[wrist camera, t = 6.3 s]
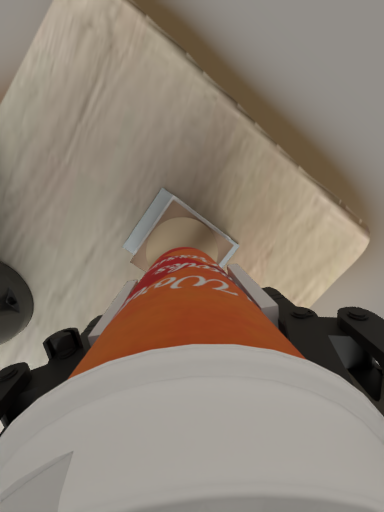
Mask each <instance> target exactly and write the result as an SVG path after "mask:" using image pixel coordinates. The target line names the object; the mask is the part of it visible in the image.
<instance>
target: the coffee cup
mask: <svg viewBox="0 0 384 512" xmlns="http://www.w3.org/2000/svg"><path fill="white" fill-rule="evenodd" d="M0 512H384V417H383V415H382V414H381V413H380V412H379V411H378V410H377V408H376V407H375V406H374V405H373V404H372V403H371V402H370V400H369V399H368V398H367V397H366V396H365V395H364V394H363V393H362V392H360V391H359V390H358V389H356V388H355V387H354V386H353V385H351V384H350V383H349V382H347V381H346V380H345V379H343V378H342V377H341V376H339V375H337V374H335V373H333V372H331V371H329V370H327V369H325V368H323V367H321V366H319V365H317V364H315V363H313V362H311V361H309V360H306V359H305V357H304V356H303V355H302V354H301V353H300V352H299V351H298V350H297V349H296V348H295V347H294V346H293V345H292V344H291V342H290V341H289V340H288V339H287V338H286V337H285V336H284V335H283V334H282V333H281V332H280V331H279V330H278V328H277V327H276V326H275V325H274V324H273V323H272V322H271V321H270V320H269V319H268V318H267V317H266V316H265V314H264V313H263V312H262V311H261V310H260V309H259V308H258V307H257V306H256V305H255V304H254V303H253V301H252V300H251V299H250V298H249V297H248V296H247V295H246V294H245V293H244V292H243V291H242V290H241V289H240V287H239V286H238V285H237V284H236V283H235V282H234V281H233V280H232V279H231V278H230V277H229V276H228V275H227V274H226V273H225V271H224V270H223V269H222V268H221V267H220V266H219V265H218V264H217V263H216V262H215V261H214V260H213V259H212V258H211V257H210V256H208V255H207V254H206V253H204V252H202V251H201V250H198V249H195V248H191V247H178V248H174V249H171V250H169V251H167V252H165V253H164V254H162V255H161V256H160V257H159V258H158V259H157V260H156V261H155V262H154V263H153V265H152V266H151V267H150V268H149V270H148V271H147V272H146V274H145V275H144V276H143V278H142V279H141V280H140V282H139V283H138V284H137V286H136V287H135V288H134V290H133V291H132V292H131V294H130V295H129V296H128V298H127V299H126V301H125V302H124V303H123V305H122V306H121V307H120V309H119V310H118V311H117V313H116V314H115V316H114V317H113V318H112V320H111V321H110V322H109V324H108V325H107V326H106V328H105V329H104V331H103V332H102V333H101V335H100V336H99V337H98V339H97V340H96V341H95V343H94V344H93V345H92V347H91V348H90V350H89V351H88V352H87V354H86V355H85V356H84V358H83V359H82V360H81V362H80V363H79V364H78V366H77V367H76V369H75V370H74V371H73V373H72V374H71V375H70V377H69V378H68V379H67V381H65V382H63V383H62V384H60V385H59V386H57V387H55V388H54V389H52V390H51V391H49V392H47V393H46V394H44V395H43V396H41V397H40V398H38V399H37V400H36V401H35V402H34V403H32V404H31V405H30V406H29V407H28V408H27V409H26V410H25V411H24V412H22V413H21V414H20V415H19V416H18V417H17V418H16V419H15V420H13V421H12V422H11V424H10V425H9V426H8V428H7V429H6V430H5V432H4V433H3V434H2V435H1V437H0Z"/></svg>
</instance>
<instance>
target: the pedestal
mask: <svg viewBox="0 0 384 512" xmlns="http://www.w3.org/2000/svg"><path fill="white" fill-rule="evenodd" d="M233 246H234V245H233V244H232V243H230V242H229V241H228V240H227V239H225V238H224V237H223V236H221V235H220V234H219V233H217V232H216V231H215V230H213V229H212V228H211V227H209V226H208V225H207V224H205V223H204V222H203V221H201V220H200V219H199V218H197V217H196V216H195V215H193V214H192V213H191V212H189V211H188V210H187V209H185V208H184V207H183V206H181V205H180V204H179V203H177V202H176V201H175V200H173V201H172V202H171V203H170V205H169V206H168V208H167V209H166V211H165V212H164V214H163V215H162V216H161V218H160V219H159V221H158V222H157V224H156V225H155V227H154V228H153V229H152V231H151V232H150V234H149V235H148V237H147V238H146V240H145V241H144V242H143V244H142V245H141V247H140V248H139V250H138V251H137V253H136V254H135V255H134V257H133V258H132V260H131V261H130V262H131V263H132V264H134V265H136V266H137V267H139V268H140V269H142V270H143V271H145V272H147V271H148V270H149V268H150V267H151V266H152V265H153V263H154V262H155V261H156V260H157V259H158V258H159V257H160V256H161V255H162V254H164V253H165V252H167V251H169V250H171V249H174V248H178V247H191V248H195V249H198V250H201V251H202V252H204V253H206V254H207V255H208V256H210V257H211V258H212V259H213V260H214V261H215V262H216V263H217V264H218V265H219V264H220V263H221V261H222V260H223V259H224V257H225V256H226V255H227V254H228V252H229V251H230V250H231V249H232V247H233Z"/></svg>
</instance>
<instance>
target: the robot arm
mask: <svg viewBox="0 0 384 512" xmlns="http://www.w3.org/2000/svg"><path fill="white" fill-rule="evenodd" d="M227 269H228V276H229V277H230V278H231V279H232V280H233V281H234V282H235V283H236V284H237V285H238V286H239V287H240V289H241V290H242V291H243V292H244V293H245V294H246V295H247V296H248V297H249V298H250V299H251V300H252V301H253V303H254V304H255V305H256V306H257V307H258V308H259V309H260V310H261V311H262V312H263V313H264V314H265V316H266V317H267V318H268V319H269V320H270V321H271V322H272V323H273V324H274V325H275V326H276V327H277V328H278V330H279V331H280V332H281V333H282V334H283V335H284V336H285V337H286V338H287V339H288V340H289V341H290V342H291V344H292V345H293V346H294V347H295V348H296V349H297V350H298V351H299V352H300V353H301V354H302V355H303V356H304V357H305V359H306V360H309V361H311V362H313V363H315V364H317V365H319V366H321V367H323V368H325V369H327V370H329V371H331V372H333V373H335V374H337V375H339V376H341V377H342V378H343V379H345V380H346V381H347V382H349V383H350V384H351V385H353V386H354V387H355V388H356V389H358V390H359V391H360V392H362V393H363V394H364V395H365V396H366V397H367V398H368V399H369V400H370V402H371V403H372V404H373V405H374V406H375V407H376V408H377V410H378V411H379V412H380V413H381V414H382V415H383V417H384V319H382V318H381V317H379V316H378V315H376V314H375V313H372V312H370V311H368V310H365V309H362V308H359V307H357V308H356V307H345V308H340V309H339V310H338V313H337V318H333V317H318V316H317V314H316V313H315V312H314V311H312V310H310V309H308V308H304V307H296V306H295V305H294V304H293V303H291V302H290V301H289V300H288V299H287V298H285V297H284V296H283V295H281V293H280V292H279V291H277V290H276V289H273V288H271V287H266V288H261V287H260V286H259V285H258V284H257V283H256V282H255V281H254V280H253V279H252V278H251V277H250V276H249V275H248V274H247V273H246V272H245V271H244V270H243V269H242V268H241V267H240V266H239V265H238V264H232V265H227ZM137 284H138V281H137V280H133V281H127V282H126V284H125V285H124V287H123V288H122V289H121V291H120V292H119V294H118V295H117V296H116V298H115V299H114V301H113V302H112V303H111V305H110V306H109V308H108V309H107V310H106V312H105V313H104V315H100V316H97V317H96V318H95V319H93V320H92V321H91V322H90V323H89V325H88V326H87V328H86V329H85V330H84V332H82V334H81V335H80V334H79V331H78V329H77V328H67V329H63V330H61V331H58V332H56V333H54V334H53V335H51V336H49V337H48V338H47V339H46V340H45V341H44V342H43V345H44V348H45V351H46V353H47V356H48V358H49V361H48V364H47V365H44V366H41V367H39V368H36V369H33V370H30V368H29V366H28V364H27V363H25V362H22V363H17V364H13V365H10V366H8V367H5V368H3V369H2V370H1V371H0V420H1V422H2V424H3V426H4V429H3V430H2V432H1V433H0V437H1V435H2V434H3V433H4V432H5V430H6V429H7V428H8V426H9V425H10V424H11V422H12V421H13V420H15V419H16V418H17V417H18V416H19V415H20V414H21V413H22V412H24V411H25V410H26V409H27V408H28V407H29V406H30V405H31V404H32V403H34V402H35V401H36V400H37V399H38V398H40V397H41V396H43V395H44V394H46V393H47V392H49V391H51V390H52V389H54V388H55V387H57V386H59V385H60V384H62V383H63V382H65V381H67V379H68V378H69V377H70V375H71V374H72V373H73V371H74V370H75V369H76V367H77V366H78V364H79V363H80V362H81V360H82V359H83V358H84V356H85V355H86V354H87V352H88V351H89V350H90V348H91V347H92V345H93V344H94V343H95V341H96V340H97V339H98V337H99V336H100V335H101V333H102V332H103V331H104V329H105V328H106V326H107V325H108V324H109V322H110V321H111V320H112V318H113V317H114V316H115V314H116V313H117V311H118V310H119V309H120V307H121V306H122V305H123V303H124V302H125V301H126V299H127V298H128V296H129V295H130V294H131V292H132V291H133V290H134V288H135V287H136V286H137ZM32 311H33V302H32V297H31V294H30V291H29V289H28V287H27V285H26V284H25V282H24V281H23V280H22V278H21V277H20V276H19V275H18V274H17V273H16V272H15V271H13V270H12V269H11V268H9V267H8V266H6V265H5V264H3V263H1V262H0V345H1V344H3V343H5V342H7V341H9V340H10V339H12V338H13V337H14V336H16V335H17V334H18V333H19V332H21V331H22V330H23V329H24V328H25V327H26V326H27V324H28V323H29V321H30V319H31V316H32ZM375 360H376V361H377V362H378V363H379V365H380V366H379V365H378V364H377V363H376V362H375Z"/></svg>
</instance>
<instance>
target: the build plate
mask: <svg viewBox="0 0 384 512" xmlns="http://www.w3.org/2000/svg"><path fill="white" fill-rule="evenodd" d="M173 200H175V201H176V202H177V203H179V204H180V205H181V206H183V207H184V208H185V209H187V210H188V211H189V212H191V213H192V214H193V215H195V216H196V217H197V218H199V219H200V220H201V221H203V222H204V223H205V224H207V225H208V226H209V227H211V228H212V229H213V230H215V231H216V232H217V233H219V234H220V235H221V236H223V237H224V238H225V239H227V240H228V241H229V242H230V243H232V244H233V245H234V246H233V247H232V249H231V250H230V251H229V252H228V254H227V255H226V256H225V257H224V259H223V260H222V261H221V263H220V264H219V266H220V267H221V268H223V266H224V265H225V264H226V263H227V261H228V260H229V259H230V258H231V256H232V255H233V254H234V252H235V251H236V250H237V249H238V247H239V245H238V244H237V243H235V242H234V241H233V240H231V238H230V237H228V236H227V235H226V234H224V233H223V232H222V231H220V230H219V229H218V228H217V227H215V226H214V225H213V224H211V223H210V222H209V221H207V220H206V219H205V218H203V217H202V216H201V215H199V214H198V213H197V212H195V211H194V210H193V209H191V208H190V207H189V206H188V205H186V204H185V203H184V202H182V201H181V200H180V199H178V198H177V197H176V196H174V195H172V194H171V193H169V192H168V191H167V190H165V189H164V188H163V187H162V189H161V190H160V192H159V193H158V195H157V196H156V198H155V199H154V200H153V202H152V203H151V205H150V206H149V208H148V209H147V211H146V212H145V214H144V215H143V217H142V218H141V220H140V221H139V223H138V224H137V226H136V227H135V229H134V230H133V232H132V233H131V235H130V236H129V238H128V239H127V241H126V242H125V244H124V245H123V248H125V249H126V250H128V251H129V252H131V253H132V254H133V255H135V254H136V253H137V251H138V250H139V248H140V247H141V245H142V244H143V242H144V241H145V240H146V238H147V237H148V235H149V234H150V232H151V231H152V229H153V228H154V227H155V225H156V224H157V222H158V221H159V219H160V218H161V216H162V215H163V214H164V212H165V211H166V209H167V208H168V206H169V205H170V203H171V202H172V201H173Z"/></svg>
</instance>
